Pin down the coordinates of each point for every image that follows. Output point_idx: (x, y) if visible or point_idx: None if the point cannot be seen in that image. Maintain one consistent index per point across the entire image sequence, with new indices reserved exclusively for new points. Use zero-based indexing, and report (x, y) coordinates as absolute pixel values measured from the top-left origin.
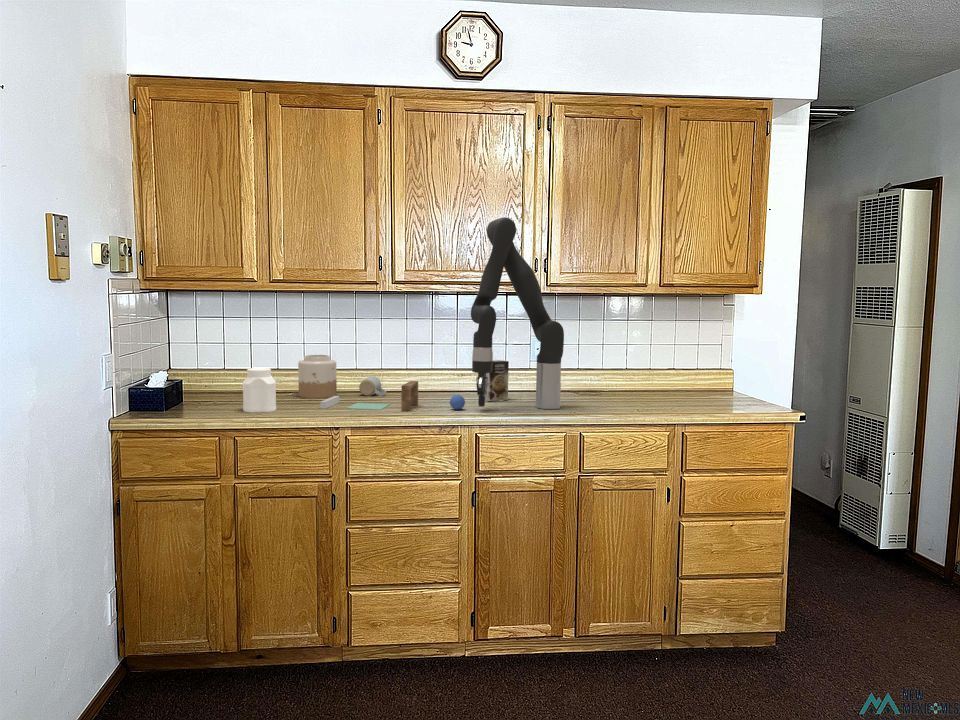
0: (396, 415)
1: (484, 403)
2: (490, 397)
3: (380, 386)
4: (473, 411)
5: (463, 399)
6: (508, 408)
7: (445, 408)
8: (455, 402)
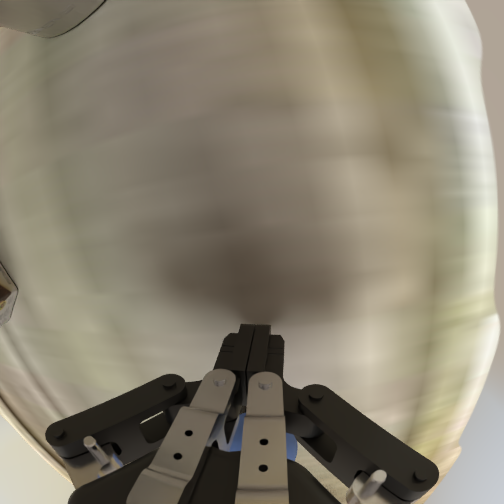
0: None
1: (264, 333)
2: (3, 295)
3: None
4: (301, 357)
5: None
6: (122, 158)
7: None
8: (296, 454)
